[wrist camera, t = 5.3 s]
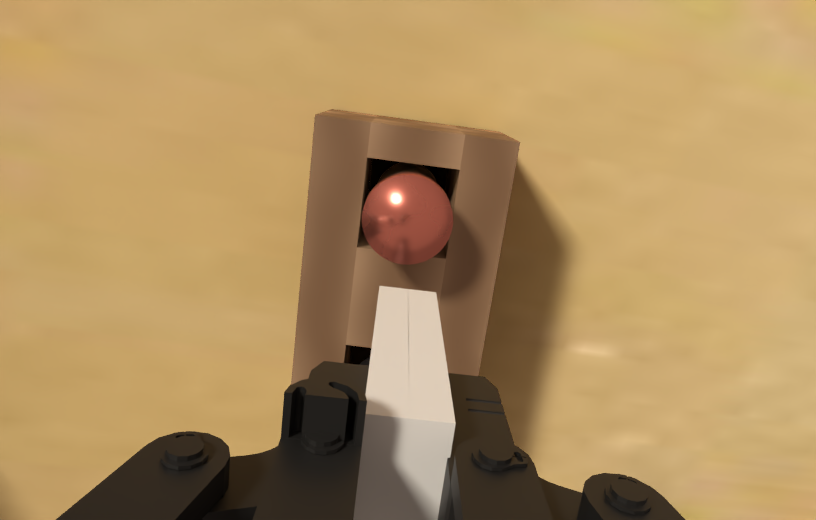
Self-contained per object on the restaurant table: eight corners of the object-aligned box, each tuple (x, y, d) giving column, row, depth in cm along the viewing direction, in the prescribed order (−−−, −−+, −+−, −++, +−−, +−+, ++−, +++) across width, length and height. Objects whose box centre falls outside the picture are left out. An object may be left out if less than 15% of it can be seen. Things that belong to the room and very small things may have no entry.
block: (305, 384, 41) (286, 442, 35) (332, 109, 36) (315, 114, 30) (453, 401, 42) (462, 462, 35) (499, 132, 37) (520, 142, 30)
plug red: (367, 224, 36) (356, 258, 29) (375, 151, 35) (367, 169, 28) (438, 233, 36) (446, 269, 29) (449, 161, 35) (459, 181, 28)
